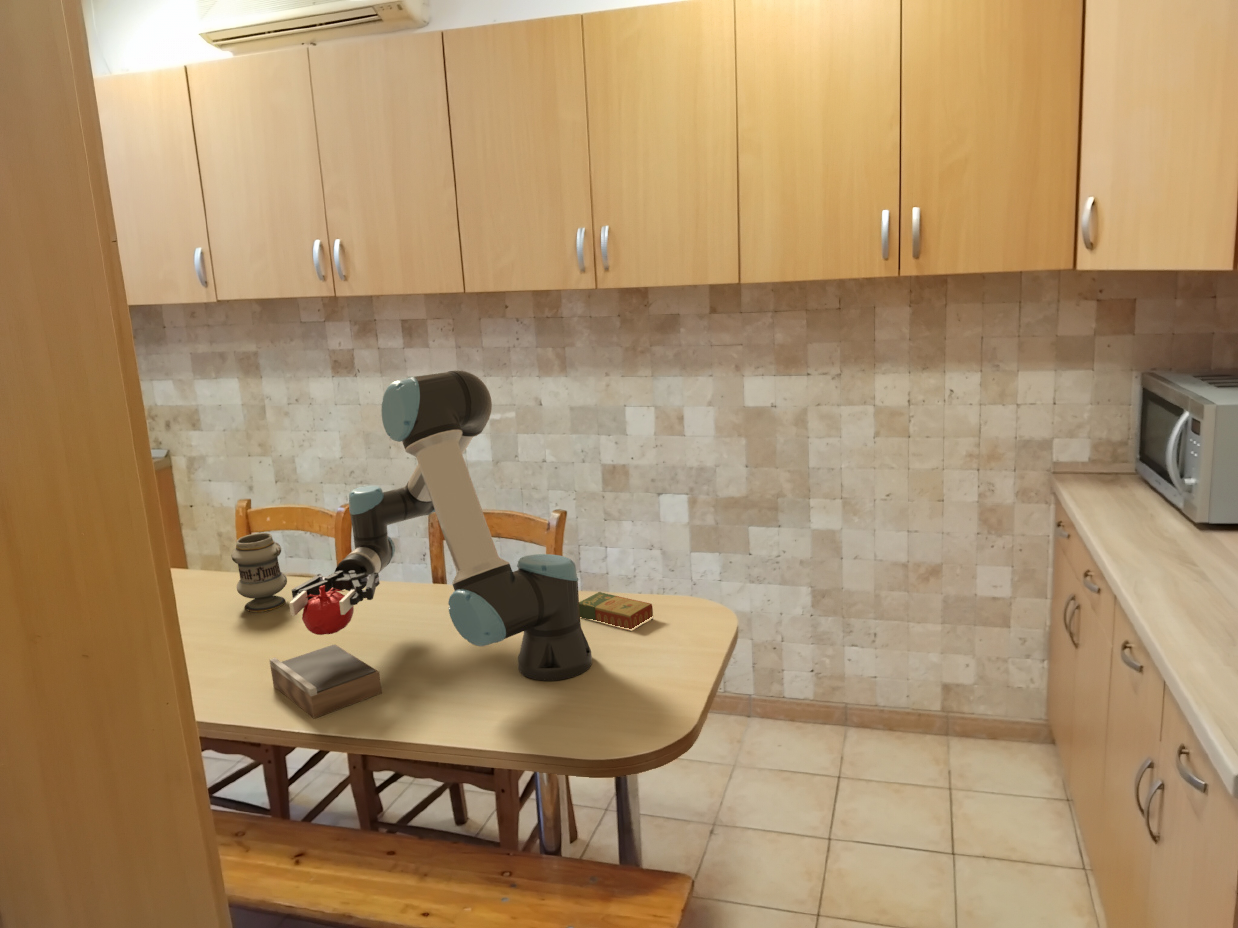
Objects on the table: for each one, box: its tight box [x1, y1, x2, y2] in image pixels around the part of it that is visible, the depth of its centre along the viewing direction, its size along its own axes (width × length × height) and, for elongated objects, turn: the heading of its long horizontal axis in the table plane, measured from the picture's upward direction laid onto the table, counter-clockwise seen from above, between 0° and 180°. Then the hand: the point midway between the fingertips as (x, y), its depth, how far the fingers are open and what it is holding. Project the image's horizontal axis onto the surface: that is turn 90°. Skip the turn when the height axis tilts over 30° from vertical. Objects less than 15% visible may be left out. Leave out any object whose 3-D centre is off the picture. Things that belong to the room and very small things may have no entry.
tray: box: [269, 644, 383, 719], centre depth 189 cm, size 20×14×6 cm
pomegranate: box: [301, 585, 355, 636], centre depth 189 cm, size 10×10×9 cm
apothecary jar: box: [230, 532, 288, 613], centre depth 238 cm, size 12×12×18 cm
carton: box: [579, 591, 654, 629], centre depth 217 cm, size 8×16×4 cm, turn 51°
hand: (316, 608), depth 184 cm, fingers closed on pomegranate, 9 cm apart
